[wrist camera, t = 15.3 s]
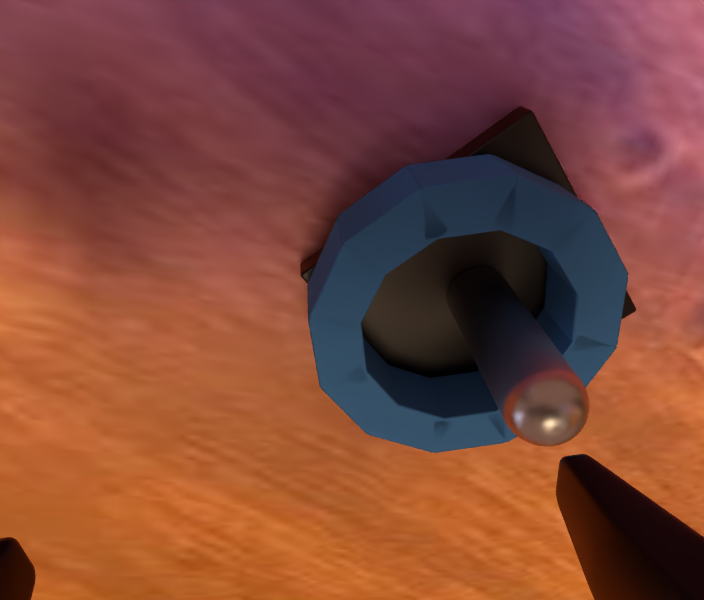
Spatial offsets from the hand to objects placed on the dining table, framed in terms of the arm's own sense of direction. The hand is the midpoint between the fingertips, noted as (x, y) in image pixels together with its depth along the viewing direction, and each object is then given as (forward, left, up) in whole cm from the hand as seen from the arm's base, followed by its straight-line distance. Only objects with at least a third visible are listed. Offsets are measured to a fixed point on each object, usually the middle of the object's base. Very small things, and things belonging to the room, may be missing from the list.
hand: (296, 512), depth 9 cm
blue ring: (+3, -5, -10) cm, 12 cm away
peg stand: (+4, -5, -11) cm, 13 cm away
